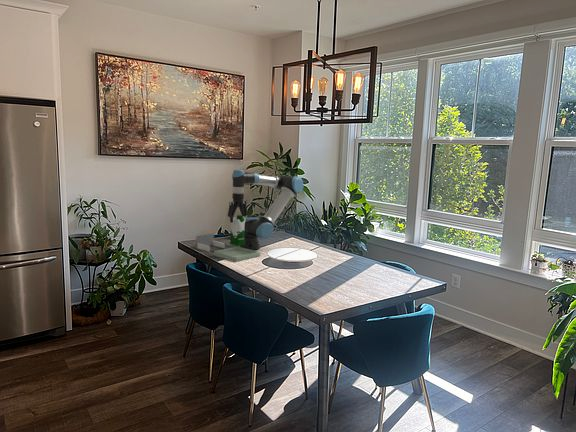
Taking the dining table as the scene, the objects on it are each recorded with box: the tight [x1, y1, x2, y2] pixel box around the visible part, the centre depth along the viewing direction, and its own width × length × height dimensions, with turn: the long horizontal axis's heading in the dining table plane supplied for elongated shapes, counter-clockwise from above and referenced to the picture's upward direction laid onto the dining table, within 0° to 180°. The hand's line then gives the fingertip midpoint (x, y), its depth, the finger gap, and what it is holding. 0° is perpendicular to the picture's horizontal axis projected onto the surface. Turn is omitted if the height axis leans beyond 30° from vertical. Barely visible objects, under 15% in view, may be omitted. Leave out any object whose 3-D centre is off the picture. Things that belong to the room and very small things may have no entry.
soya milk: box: [229, 214, 247, 247], centre depth 284 cm, size 9×9×20 cm
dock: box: [195, 233, 226, 252], centre depth 306 cm, size 14×15×9 cm
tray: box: [213, 246, 261, 263], centre depth 286 cm, size 22×22×3 cm
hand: (237, 226), depth 283 cm, fingers closed on soya milk, 9 cm apart
